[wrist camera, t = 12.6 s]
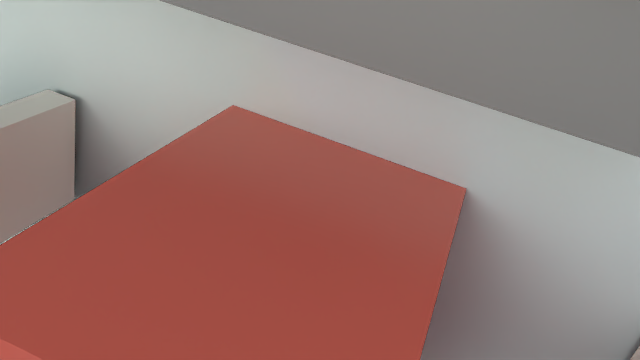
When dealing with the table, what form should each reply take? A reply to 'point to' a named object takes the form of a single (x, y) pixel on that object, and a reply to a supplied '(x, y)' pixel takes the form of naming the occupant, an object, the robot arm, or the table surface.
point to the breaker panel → (479, 52)
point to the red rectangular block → (234, 255)
